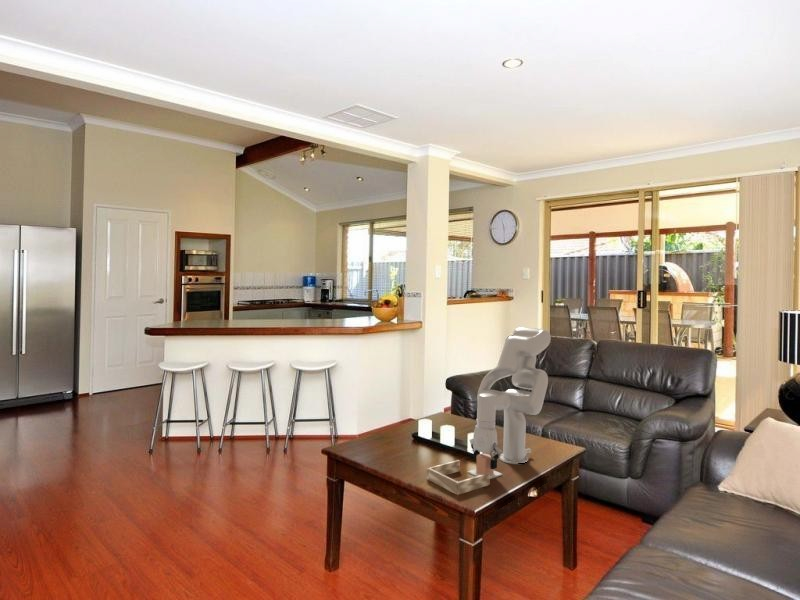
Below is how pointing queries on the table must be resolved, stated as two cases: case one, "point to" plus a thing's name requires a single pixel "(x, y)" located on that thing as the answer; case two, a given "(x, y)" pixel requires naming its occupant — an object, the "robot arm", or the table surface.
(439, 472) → the birch box
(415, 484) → the table surface
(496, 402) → the robot arm
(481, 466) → the terracotta cube
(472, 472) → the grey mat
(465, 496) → the table surface
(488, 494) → the table surface
